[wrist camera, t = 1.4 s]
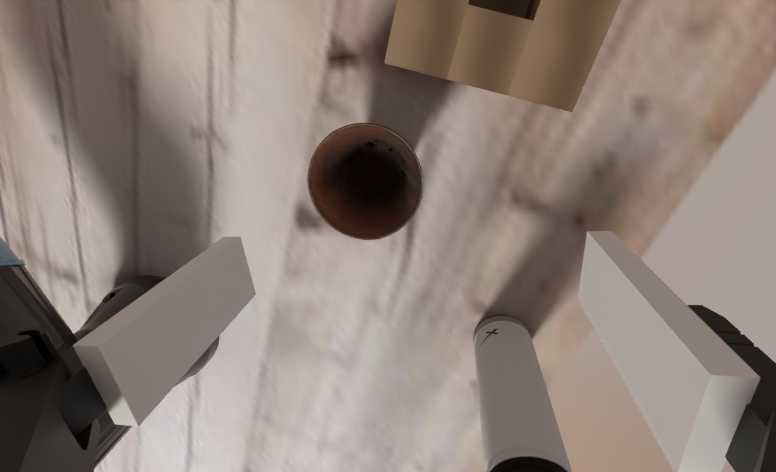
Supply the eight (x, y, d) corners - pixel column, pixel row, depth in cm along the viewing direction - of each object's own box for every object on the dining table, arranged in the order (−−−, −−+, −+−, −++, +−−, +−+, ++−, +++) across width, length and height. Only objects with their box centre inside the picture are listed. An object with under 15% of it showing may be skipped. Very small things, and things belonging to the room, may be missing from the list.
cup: (328, 204, 38) (297, 231, 28) (341, 115, 35) (312, 111, 26) (412, 222, 37) (408, 255, 28) (431, 133, 35) (435, 136, 25)
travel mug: (474, 310, 41) (492, 497, 23) (534, 318, 40) (603, 517, 22) (466, 353, 44) (478, 551, 26) (523, 361, 43) (577, 572, 25)
